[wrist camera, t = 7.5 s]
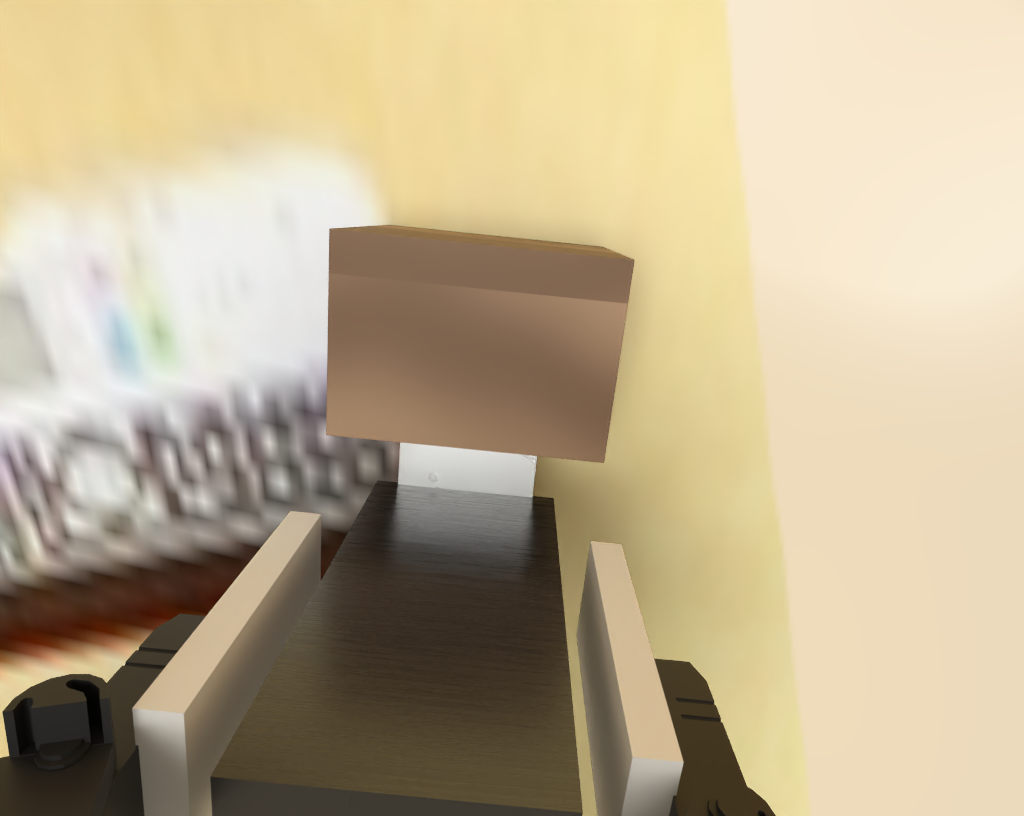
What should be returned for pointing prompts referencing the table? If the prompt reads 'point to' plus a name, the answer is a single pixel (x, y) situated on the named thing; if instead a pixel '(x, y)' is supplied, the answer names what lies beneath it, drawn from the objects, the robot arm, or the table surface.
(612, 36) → the table surface
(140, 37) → the table surface
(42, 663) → the table surface
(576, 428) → the brown block
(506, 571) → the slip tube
